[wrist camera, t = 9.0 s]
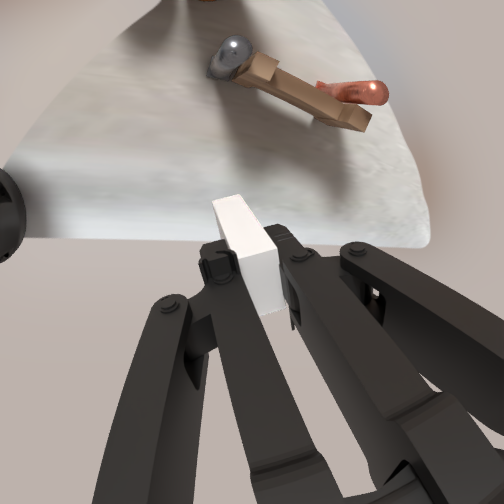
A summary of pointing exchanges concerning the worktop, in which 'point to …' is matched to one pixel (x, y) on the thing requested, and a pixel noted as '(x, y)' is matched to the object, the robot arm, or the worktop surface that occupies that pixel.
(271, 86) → the gate
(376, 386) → the robot arm
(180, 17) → the worktop surface
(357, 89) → the gate posts
